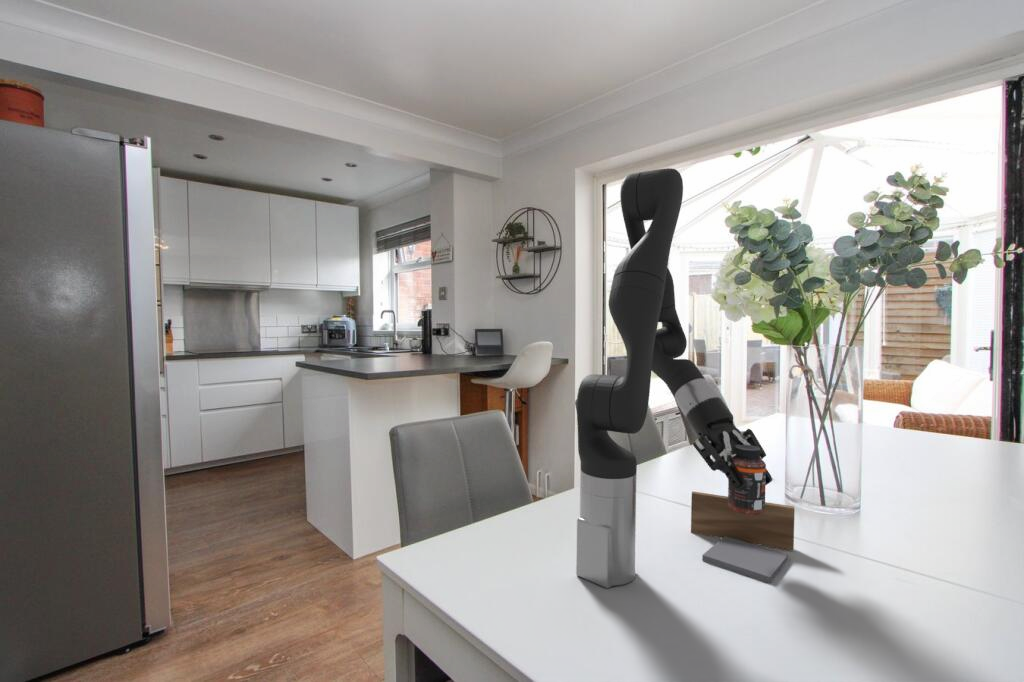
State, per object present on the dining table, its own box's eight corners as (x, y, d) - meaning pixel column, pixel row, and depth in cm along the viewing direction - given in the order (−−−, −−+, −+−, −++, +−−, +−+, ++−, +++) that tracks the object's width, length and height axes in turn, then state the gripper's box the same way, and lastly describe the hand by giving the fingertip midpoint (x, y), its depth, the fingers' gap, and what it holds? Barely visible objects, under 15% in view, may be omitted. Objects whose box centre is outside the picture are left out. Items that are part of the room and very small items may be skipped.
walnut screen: (793, 551, 90) (794, 508, 90) (690, 532, 98) (691, 493, 98) (792, 548, 91) (794, 506, 91) (691, 530, 99) (692, 491, 99)
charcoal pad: (770, 583, 79) (770, 577, 78) (702, 560, 86) (702, 554, 86) (788, 559, 87) (788, 554, 87) (724, 540, 94) (725, 535, 94)
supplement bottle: (769, 517, 83) (771, 452, 82) (732, 514, 84) (733, 450, 83) (759, 504, 89) (760, 443, 88) (724, 502, 90) (725, 441, 89)
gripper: (686, 398, 89) (741, 481, 79) (739, 393, 95) (797, 469, 85) (664, 421, 94) (713, 502, 84) (717, 415, 100) (768, 489, 90)
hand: (755, 485), depth 85 cm, fingers closed on supplement bottle, 6 cm apart
